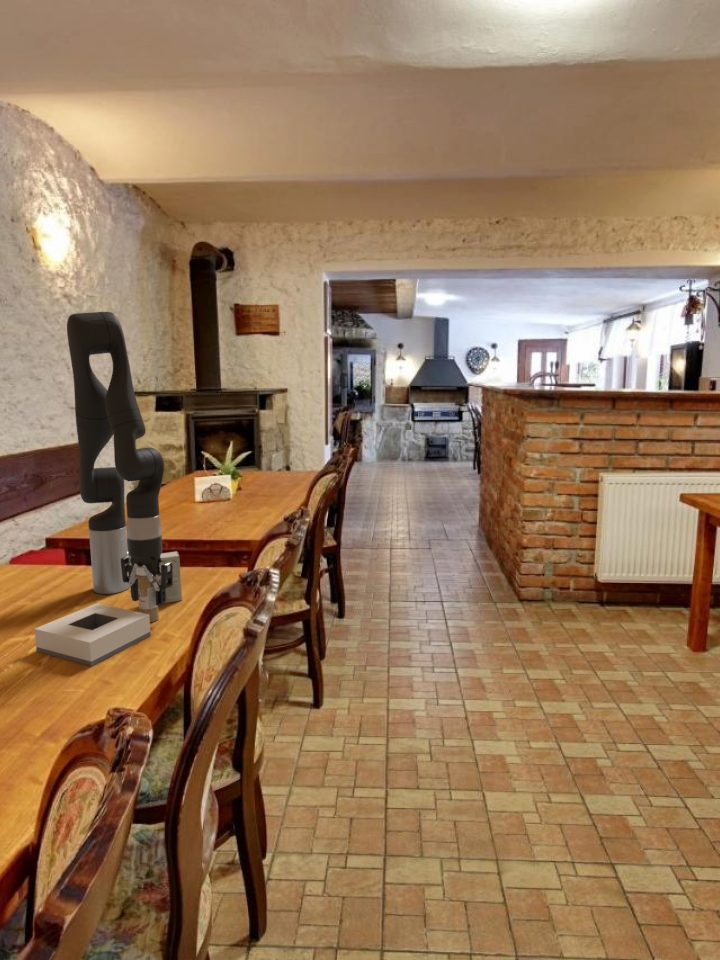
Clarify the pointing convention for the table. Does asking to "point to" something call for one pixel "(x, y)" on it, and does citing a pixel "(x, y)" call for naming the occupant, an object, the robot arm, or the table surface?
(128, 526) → the robot arm
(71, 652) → the socket block
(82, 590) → the table surface
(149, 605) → the sprinkles bottle
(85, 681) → the table surface
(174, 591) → the skincare box
